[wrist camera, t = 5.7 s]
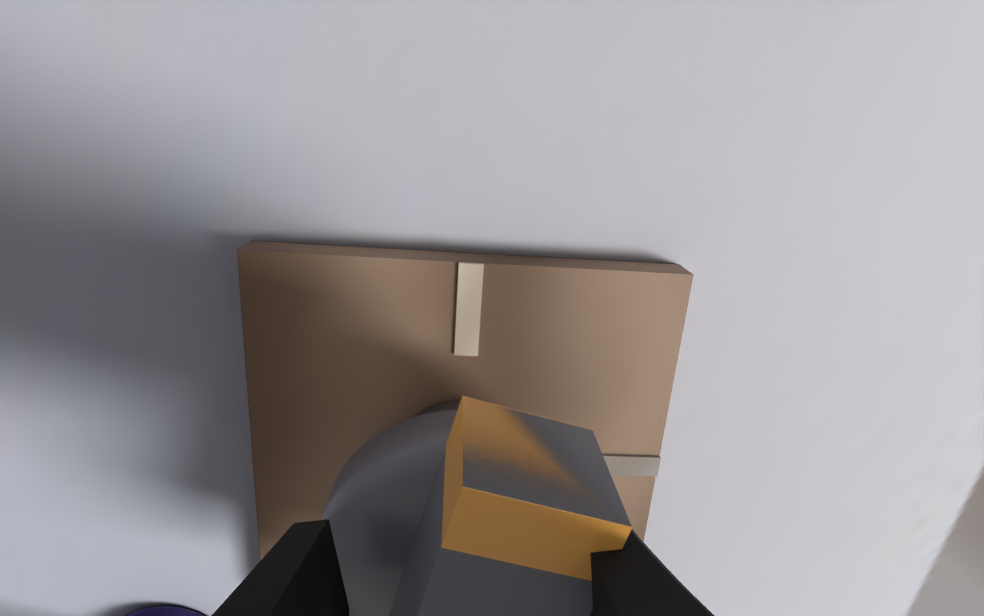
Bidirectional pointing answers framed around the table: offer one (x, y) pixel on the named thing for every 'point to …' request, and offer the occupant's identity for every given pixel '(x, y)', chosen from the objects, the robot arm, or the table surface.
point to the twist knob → (474, 516)
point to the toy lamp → (165, 612)
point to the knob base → (448, 356)
